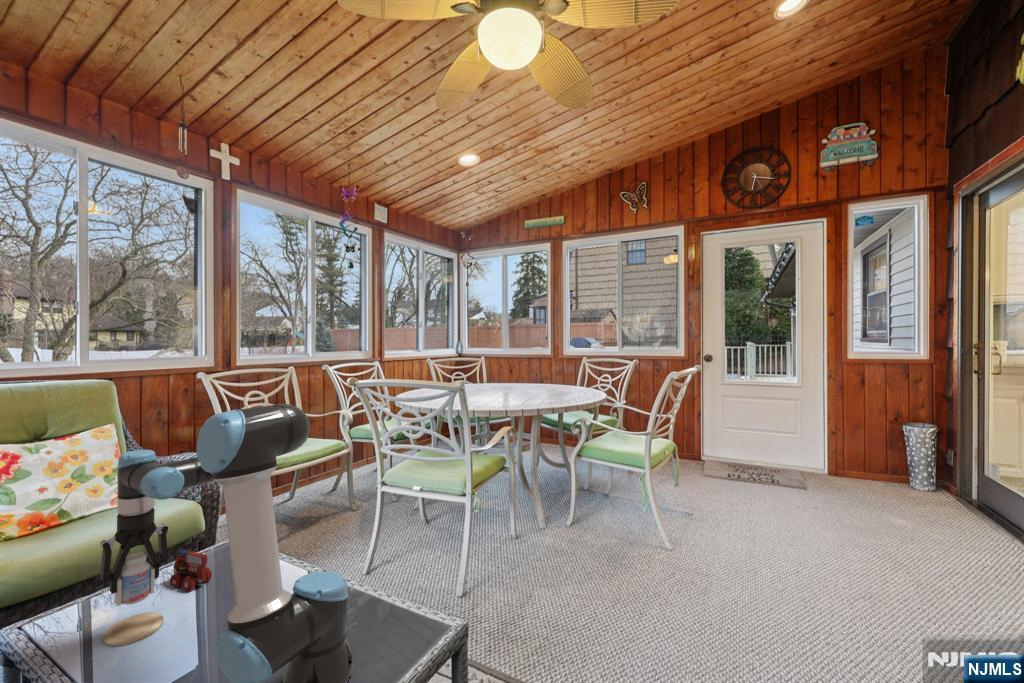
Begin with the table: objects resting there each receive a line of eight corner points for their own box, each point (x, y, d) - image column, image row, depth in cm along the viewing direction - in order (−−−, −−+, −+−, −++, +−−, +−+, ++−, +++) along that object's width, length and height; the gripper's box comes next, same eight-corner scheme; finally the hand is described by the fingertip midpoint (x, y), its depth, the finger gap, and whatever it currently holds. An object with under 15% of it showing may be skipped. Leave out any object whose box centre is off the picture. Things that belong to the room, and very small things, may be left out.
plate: (169, 627, 118) (170, 624, 118) (110, 653, 108) (110, 649, 108) (154, 609, 125) (154, 606, 125) (97, 632, 115) (97, 628, 115)
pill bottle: (132, 607, 113) (132, 564, 113) (113, 603, 114) (113, 560, 114) (155, 593, 119) (156, 552, 119) (137, 590, 120) (137, 549, 120)
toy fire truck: (187, 574, 143) (187, 542, 143) (215, 582, 139) (216, 549, 139) (164, 585, 137) (165, 552, 136) (193, 594, 133) (194, 560, 133)
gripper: (174, 496, 126) (173, 576, 126) (82, 518, 110) (81, 609, 111) (184, 503, 122) (183, 586, 122) (90, 526, 106) (89, 621, 107)
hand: (134, 597), depth 116 cm, fingers closed on pill bottle, 6 cm apart
